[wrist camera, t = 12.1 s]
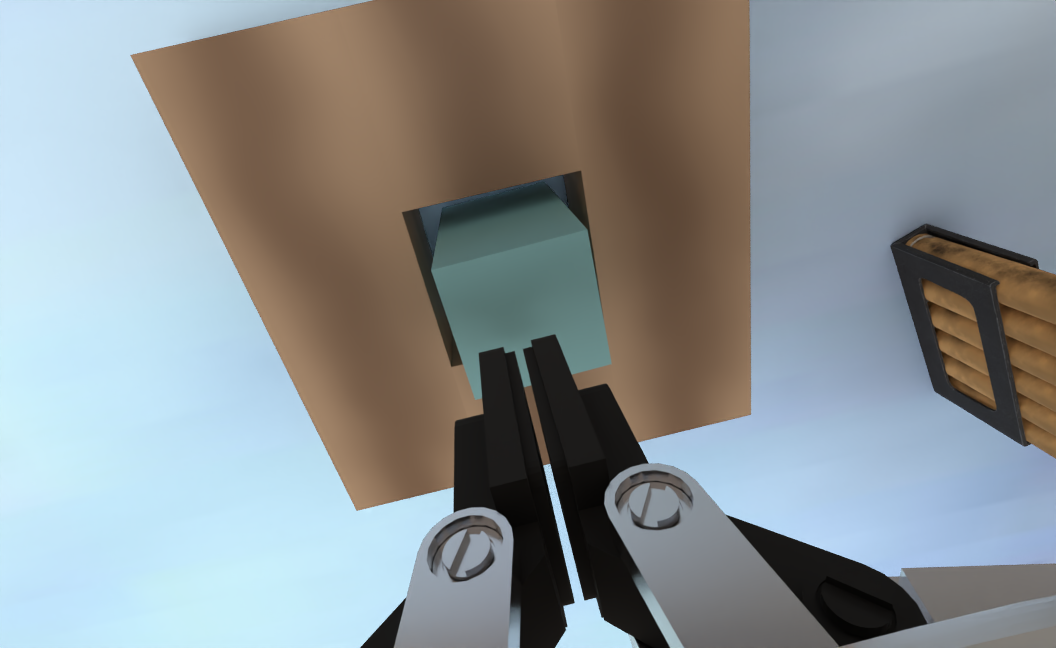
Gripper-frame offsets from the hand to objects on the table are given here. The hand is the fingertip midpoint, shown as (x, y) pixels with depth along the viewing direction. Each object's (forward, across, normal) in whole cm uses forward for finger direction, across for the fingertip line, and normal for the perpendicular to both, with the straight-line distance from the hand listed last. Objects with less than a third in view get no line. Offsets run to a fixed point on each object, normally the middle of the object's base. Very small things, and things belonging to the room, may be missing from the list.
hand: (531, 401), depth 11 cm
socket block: (+12, 0, 0) cm, 12 cm away
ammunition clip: (+12, -21, +9) cm, 26 cm away
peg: (+12, 0, 0) cm, 12 cm away
